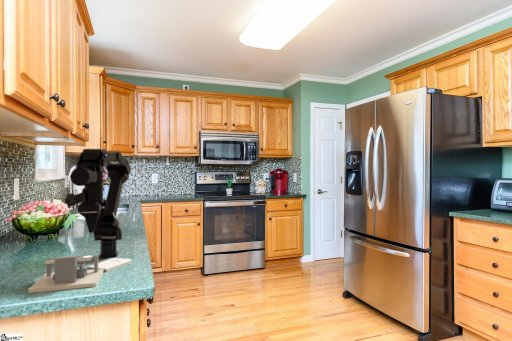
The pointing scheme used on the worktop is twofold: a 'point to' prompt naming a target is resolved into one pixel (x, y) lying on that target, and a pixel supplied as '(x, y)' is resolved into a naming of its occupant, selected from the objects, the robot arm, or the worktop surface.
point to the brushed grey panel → (80, 258)
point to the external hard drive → (111, 264)
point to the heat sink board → (78, 284)
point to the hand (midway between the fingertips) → (93, 230)
